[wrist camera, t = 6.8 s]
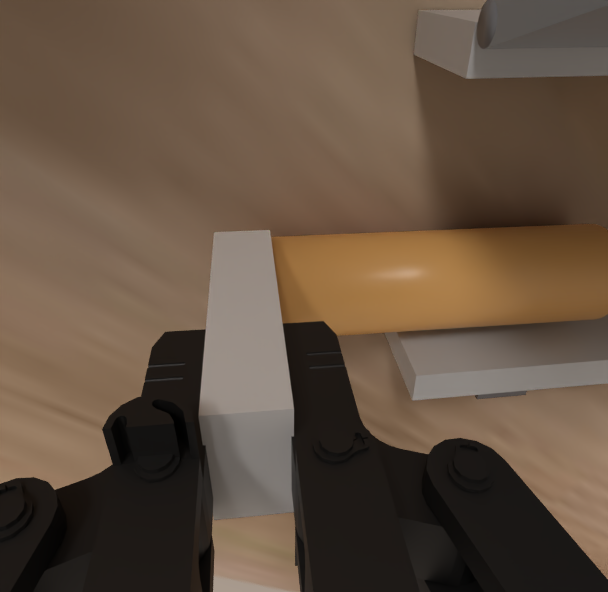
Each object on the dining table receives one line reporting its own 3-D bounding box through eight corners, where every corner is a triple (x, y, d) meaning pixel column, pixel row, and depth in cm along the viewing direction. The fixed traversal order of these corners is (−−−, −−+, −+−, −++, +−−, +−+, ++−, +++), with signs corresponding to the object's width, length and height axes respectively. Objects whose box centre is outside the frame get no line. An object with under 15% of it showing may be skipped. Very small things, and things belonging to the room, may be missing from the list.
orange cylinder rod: (266, 257, 16) (272, 347, 16) (268, 220, 13) (275, 328, 13) (551, 244, 17) (569, 328, 17) (610, 207, 14) (635, 307, 14)
